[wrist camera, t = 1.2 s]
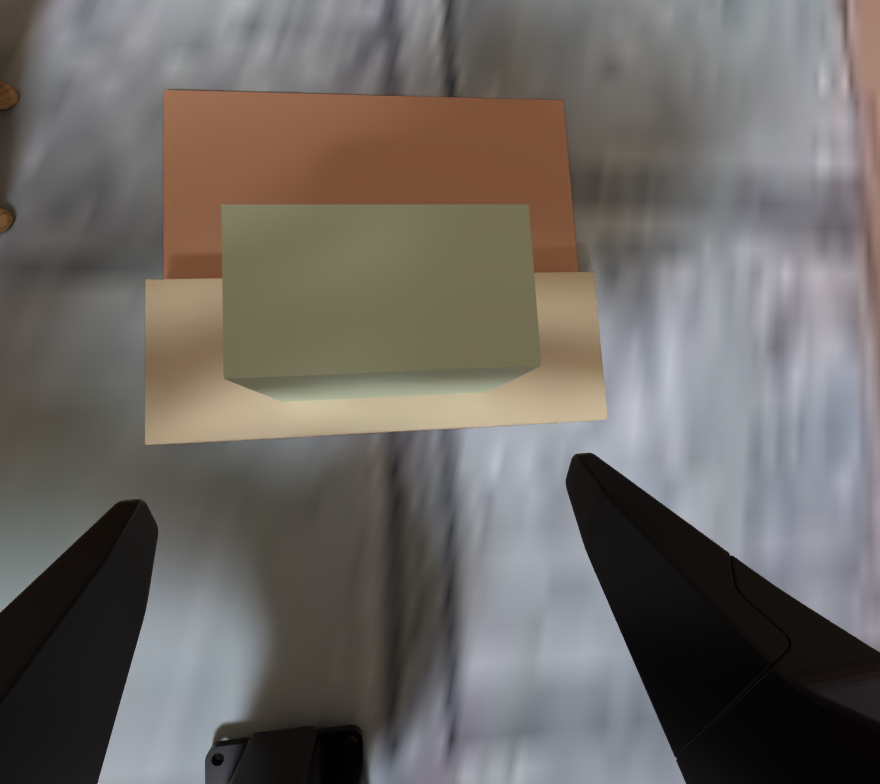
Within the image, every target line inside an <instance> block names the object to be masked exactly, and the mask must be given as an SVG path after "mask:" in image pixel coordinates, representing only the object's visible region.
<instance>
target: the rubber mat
mask: <svg viewBox="0 0 880 784" xmlns="http://www.w3.org/2000/svg"><path fill="white" fill-rule="evenodd" d="M163 99H164V279H211V278H222V218H221V205H316V204H529V215H530V228H531V240H532V253H533V266H534V273H555V272H579V271H578V260H577V249H576V237H575V226H574V215H573V204H572V193H571V181H570V170H569V159H568V148H567V136H566V125H565V114H564V103H563V100H532V99H493V98H455V97H417V96H378V95H340V94H302V93H263V92H225V91H187V90H163Z"/></svg>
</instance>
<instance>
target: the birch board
mask: <svg viewBox="0 0 880 784" xmlns="http://www.w3.org/2000/svg"><path fill="white" fill-rule="evenodd" d="M534 278H535V291H536V303H537V316H538V328H539V341H540V354H541V366H540V367H538V368H536V369H534V370H532V371H530V372H528V373H526V374H524V375H522V376H520V377H518V378H516V379H514V380H512V381H510V382H508V383H506V384H504V385H502V386H500V387H498V388H496V389H494V390H492V391H490V392H484V393H463V394H441V395H420V396H399V397H377V398H356V399H335V400H314V401H292V402H281V401H278V400H276V399H273V398H271V397H268V396H266V395H263V394H261V393H258V392H256V391H253V390H250V389H248V388H245V387H243V386H240V385H238V384H235V383H233V382H230V381H228V380H225V379H224V369H223V293H222V278H211V279H154V280H145V445H169V444H187V443H205V442H223V441H241V440H259V439H277V438H295V437H313V436H331V435H349V434H367V433H385V432H403V431H421V430H439V429H457V428H475V427H493V426H511V425H529V424H547V423H565V422H583V421H595V420H605V419H607V409H606V398H605V387H604V376H603V365H602V354H601V344H600V333H599V322H598V311H597V300H596V289H595V279H594V272H555V273H534Z"/></svg>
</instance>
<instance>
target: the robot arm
mask: <svg viewBox="0 0 880 784" xmlns="http://www.w3.org/2000/svg"><path fill="white" fill-rule="evenodd" d="M566 488H567V491H568V495H569V498H570V501H571V504H572V508H573V511H574V514H575V518H576V521H577V524H578V527H579V531H580V534H581V537H582V540H583V543H584V546H585V549H586V552H587V554H588V557H589V559H590V561H591V564H592V566H593V568H594V571H595V573H596V575H597V578H598V580H599V582H600V585H601V587H602V589H603V591H604V594H605V596H606V598H607V601H608V603H609V605H610V608H611V610H612V612H613V615H614V617H615V619H616V622H617V624H618V626H619V629H620V631H621V633H622V635H623V638H624V640H625V642H626V645H627V647H628V649H629V652H630V654H631V656H632V659H633V661H634V663H635V666H636V668H637V670H638V672H639V675H640V677H641V679H642V682H643V684H644V686H645V689H646V691H647V693H648V696H649V698H650V700H651V703H652V705H653V707H654V710H655V712H656V714H657V716H658V719H659V721H660V723H661V726H662V728H663V730H664V733H665V735H666V737H667V740H668V742H669V744H670V747H671V749H672V751H673V754H674V756H675V757H676V758H677V759H676V761H677V763H678V766H679V768H680V770H681V773H682V775H683V777H684V780H685V782H686V784H880V652H878V651H877V650H875V649H873V648H872V647H870V646H868V645H867V644H865V643H864V642H862V641H860V640H859V639H857V638H856V637H854V636H853V635H851V634H849V633H848V632H846V631H845V630H843V629H841V628H840V627H838V626H837V625H835V624H834V623H832V622H830V621H829V620H827V619H826V618H824V617H823V616H821V615H819V614H818V613H816V612H815V611H813V610H812V609H810V608H808V607H807V606H805V605H804V604H802V603H801V602H799V601H798V600H796V599H794V598H793V597H791V596H790V595H788V594H787V593H785V592H784V591H782V590H781V589H779V588H778V587H776V586H775V585H773V584H772V583H770V582H769V581H768V580H766V579H765V578H763V577H762V576H760V575H759V574H758V573H756V572H755V571H753V570H752V569H751V568H749V567H748V566H746V565H745V564H744V563H742V562H741V561H740V560H738V559H737V558H735V557H734V556H730V554H729V553H728V552H727V551H726V550H724V549H723V548H722V547H720V546H719V545H718V544H716V543H715V542H713V541H712V540H711V539H709V538H708V537H707V536H705V535H704V534H702V533H701V532H700V531H698V530H697V529H696V528H694V527H693V526H692V525H690V524H689V523H687V522H686V521H685V520H683V519H682V518H681V517H679V516H678V515H677V514H675V513H674V512H672V511H671V510H670V509H668V508H667V507H666V506H664V505H663V504H662V503H660V502H659V501H657V500H656V499H655V498H653V497H652V496H651V495H649V494H648V493H646V492H645V491H644V490H642V489H641V488H640V487H638V486H637V485H636V484H634V483H633V482H631V481H630V480H629V479H627V478H626V477H625V476H623V475H622V474H621V473H619V472H618V471H616V470H615V469H614V468H612V467H611V466H610V465H608V464H607V463H606V462H604V461H603V460H601V459H600V458H599V457H597V456H596V455H594V454H592V453H580V454H575V455H574V456H573V457H572V460H571V463H570V467H569V470H568V473H567V477H566ZM157 538H158V527H157V524H156V522H155V520H154V518H153V516H152V514H151V512H150V510H149V508H148V506H147V504H146V502H145V501H144V500H142V499H134V500H124V501H120V502H118V503H116V504H115V505H114V506H113V507H112V508H111V509H110V510H109V511H108V512H107V513H106V514H105V515H103V516H102V517H101V518H100V519H99V520H98V521H97V522H96V523H95V524H94V525H93V526H92V527H91V528H90V529H89V530H88V531H86V532H85V533H84V534H83V535H82V536H81V537H80V538H79V539H78V540H77V541H76V542H75V543H74V544H73V545H72V546H71V547H70V548H68V549H67V550H66V551H65V552H64V553H63V554H62V555H61V556H60V557H59V558H58V559H57V560H56V561H55V562H54V563H53V564H51V565H50V566H49V567H48V568H47V569H46V570H45V571H44V572H43V573H42V574H41V575H40V576H39V577H38V578H37V579H36V580H34V581H33V582H32V583H31V584H30V585H29V586H28V587H27V588H26V589H25V590H24V591H23V592H22V593H21V594H20V595H19V596H17V597H16V598H15V599H14V600H13V601H12V602H11V603H10V604H9V605H8V606H7V607H6V608H5V609H4V610H3V611H2V612H0V784H97V783H98V779H99V776H100V772H101V769H102V765H103V761H104V758H105V754H106V751H107V747H108V744H109V740H110V737H111V733H112V729H113V726H114V722H115V719H116V715H117V712H118V708H119V705H120V701H121V697H122V694H123V690H124V687H125V683H126V680H127V676H128V673H129V669H130V665H131V662H132V658H133V655H134V651H135V648H136V644H137V641H138V637H139V633H140V630H141V626H142V623H143V619H144V615H145V611H146V606H147V601H148V595H149V589H150V583H151V576H152V570H153V563H154V557H155V551H156V544H157ZM349 736H354V737H355V738H356V739H357V740H356V741H355V742H353V743H349V742H348V741H347V740H346V739H347V738H348V737H349ZM216 753H221V754H222V755H223V756H224V759H222V760H218V759H217V758H216V757H215V754H216ZM205 784H365V768H364V743H363V732H362V730H361V729H360V727H358V726H356V725H345V726H337V727H329V728H321V729H316V728H314V727H313V726H306V727H298V728H290V729H282V730H274V731H266V732H258V733H255V734H254V735H253V736H252V737H249V738H241V739H233V740H225V741H219V742H216V743H215V744H214V745H213V746H212V747H211V749H210V750H209V752H208V754H207V756H206V760H205Z"/></svg>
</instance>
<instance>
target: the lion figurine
mask: <svg viewBox="0 0 880 784" xmlns="http://www.w3.org/2000/svg"><path fill="white" fill-rule="evenodd" d="M18 98H19V96H18V94H17V93H16V91H15V90H14V89H13V88H12V87H11V86H9V85H7V84H5V83H3V82H0V109H8V108H10V107H12V106H13V105H15V104H16V103H17V102H18ZM12 222H13V217H12V215H11V214H10V212H9V211H8V210H6V209H4V208H1V207H0V233H3V232H4V231H6V230H7V229H8V228H9V227H10V226H11V224H12Z"/></svg>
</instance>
